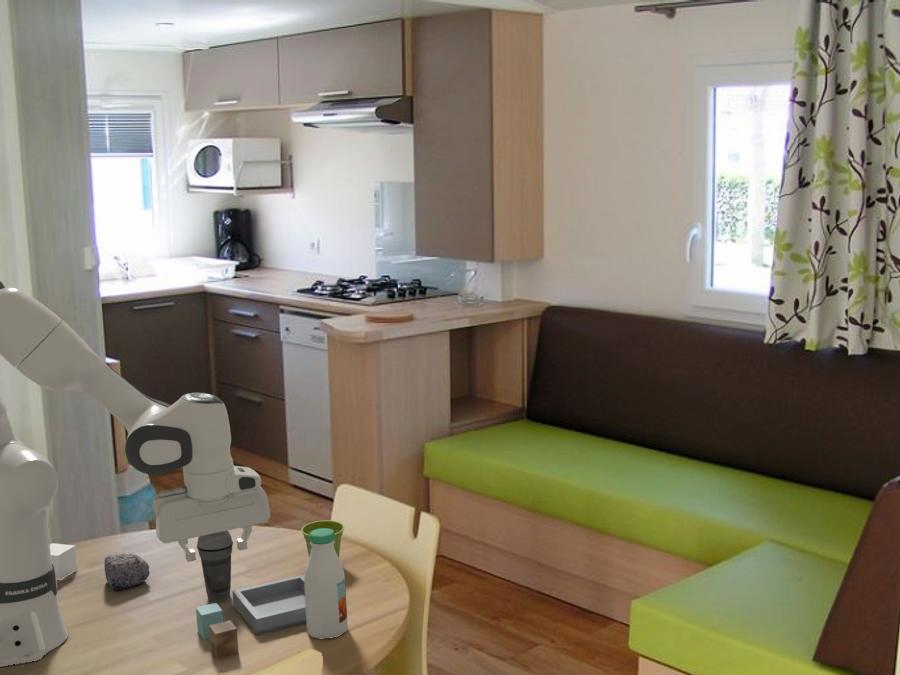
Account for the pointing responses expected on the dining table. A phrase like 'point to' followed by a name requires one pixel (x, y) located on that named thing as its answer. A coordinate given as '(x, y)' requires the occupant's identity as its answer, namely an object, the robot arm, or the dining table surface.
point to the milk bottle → (324, 587)
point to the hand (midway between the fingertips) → (217, 554)
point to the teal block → (208, 618)
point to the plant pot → (328, 524)
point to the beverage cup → (216, 564)
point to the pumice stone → (125, 570)
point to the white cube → (63, 559)
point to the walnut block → (223, 639)
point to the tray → (272, 604)
